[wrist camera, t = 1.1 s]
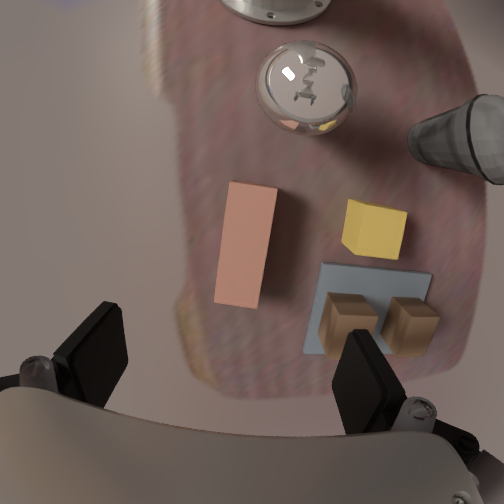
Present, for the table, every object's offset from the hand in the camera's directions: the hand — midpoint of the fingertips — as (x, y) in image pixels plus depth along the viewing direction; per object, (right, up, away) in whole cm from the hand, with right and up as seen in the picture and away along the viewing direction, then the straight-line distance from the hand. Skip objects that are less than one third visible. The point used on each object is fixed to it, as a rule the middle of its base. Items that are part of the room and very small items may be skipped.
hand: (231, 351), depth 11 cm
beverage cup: (+19, +16, +14) cm, 29 cm away
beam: (0, +5, +18) cm, 18 cm away
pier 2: (+18, -4, +19) cm, 27 cm away
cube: (+12, +7, +17) cm, 22 cm away
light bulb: (+5, +17, +14) cm, 23 cm away
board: (+14, -3, +20) cm, 25 cm away
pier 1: (+10, -3, +19) cm, 22 cm away
